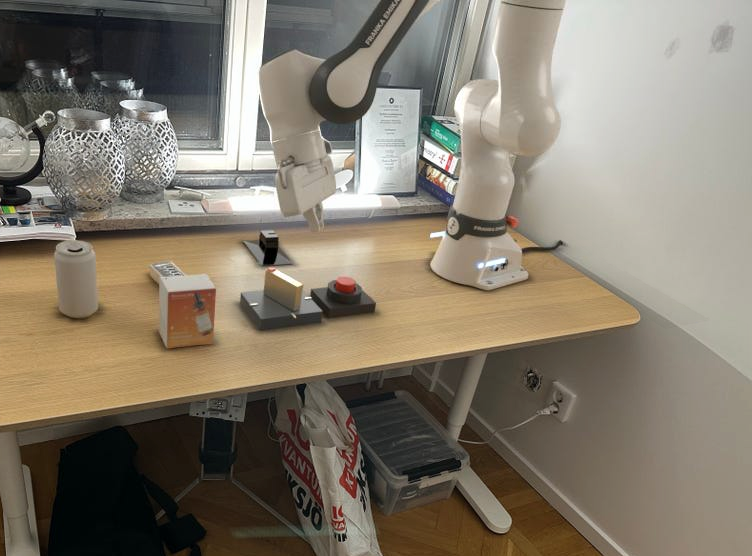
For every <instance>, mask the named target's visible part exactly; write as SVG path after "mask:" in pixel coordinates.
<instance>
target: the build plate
mask: <svg viewBox="0 0 752 556" xmlns="http://www.w3.org/2000/svg"><path fill="white" fill-rule="evenodd" d="M279 238H280V236H279V235H278V234H276V232H275V231H274V230H272V229H271V230H269V229H268V230H260V232H259V237H258V240H244V241H243V244H244V245H245V247H246V248H247V250H248V251H249V253H251V255H252V256H253V257H254V259H255V260H256V261H257V264H258V266H261V267H276V266H291V265H292V266H293V264H294V263H293V261H292V260H291V259H290V258H289V256H287V255H286V253H285V252H284V250H283V249H281V247H280V246H279V244H280V243H279V240H280V239H279Z"/></svg>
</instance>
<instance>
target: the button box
mask: <svg viewBox="0 0 752 556" xmlns="http://www.w3.org/2000/svg"><path fill="white" fill-rule="evenodd" d="M336 280H337V279H333V280H331V281H329V282H328V283H327V286H325V287H316V288H311V289H310V292H309V293H310V294H309V297H311V298H312V300H313V301H314V302H315V303H316V305H317V306H318V307H319V308H320V309H321V310H322V311H323V313H322V314H323V315H324V316H325V317H326V318H327V319H328V320H329V319H337V318H345V317H350V316H351V317H352V316H361V315H366V314H374V313H375V311H376V306H377V302H376V301H375V300H374V299H373V298H372V297H370V296H369V295H368V294H367V292H365V290H363V287H362V286H360V285H359V283H357V282H355V288H354V291H353V292H351V293H345V292H341V291H338V290H336V288H335V286H336Z"/></svg>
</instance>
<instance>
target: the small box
mask: <svg viewBox="0 0 752 556" xmlns="http://www.w3.org/2000/svg"><path fill="white" fill-rule="evenodd" d="M185 275H186V276H172V277H160V279H159V284H158V286H159V289H158V291H159V292H158V293H159V294H158V296H159V297H158V299H159V300H158V302H159V303H158V332H159V335H160V337H161V339H162V342H163V344H164V345H165V348H166V349H174V348H183V347H191V346H192V347H193V346H202V345H212V344H214V335H215V333H214V332H215V317H216V316H215V315H216V301H217V288H216V286H215V285H214V283H213V282H212V280H211V278H210V276H209V275H208V274H207V273H200V274H189V275H187V274H185Z"/></svg>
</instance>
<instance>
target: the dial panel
mask: <svg viewBox="0 0 752 556" xmlns="http://www.w3.org/2000/svg"><path fill="white" fill-rule="evenodd" d="M263 293H264V289H261V290H252V291H242V292H240V298H239V305H240V306H241V307H242V309H243V310H244V312H245V313H246V315H247V316H248V318H250V319H251V321H252V322H253V323H254V325H255V326H256V327H257V329H258V330H259V331H260V332H263V331H270V330H278V329H285V328H293V327H299V326H300V327H301V326H307V325H315V324H321V323H322V319H323V314H324V313H323V311H322V310H321V309H320V308H319V307H318V306H317V305H316V303H315V302H314V301H313V300H312V298H311V297H310V295H308V293H306V292H305V290H303V291H302V298H301V306H300V309H299V310H297V311H292V310H290V309H289V308H287V307H285V306H284V305H282V304H280V303H278V302H277V301H275V300H273V299H271V298H270V297H268V296H266V295H265V294H263Z"/></svg>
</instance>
